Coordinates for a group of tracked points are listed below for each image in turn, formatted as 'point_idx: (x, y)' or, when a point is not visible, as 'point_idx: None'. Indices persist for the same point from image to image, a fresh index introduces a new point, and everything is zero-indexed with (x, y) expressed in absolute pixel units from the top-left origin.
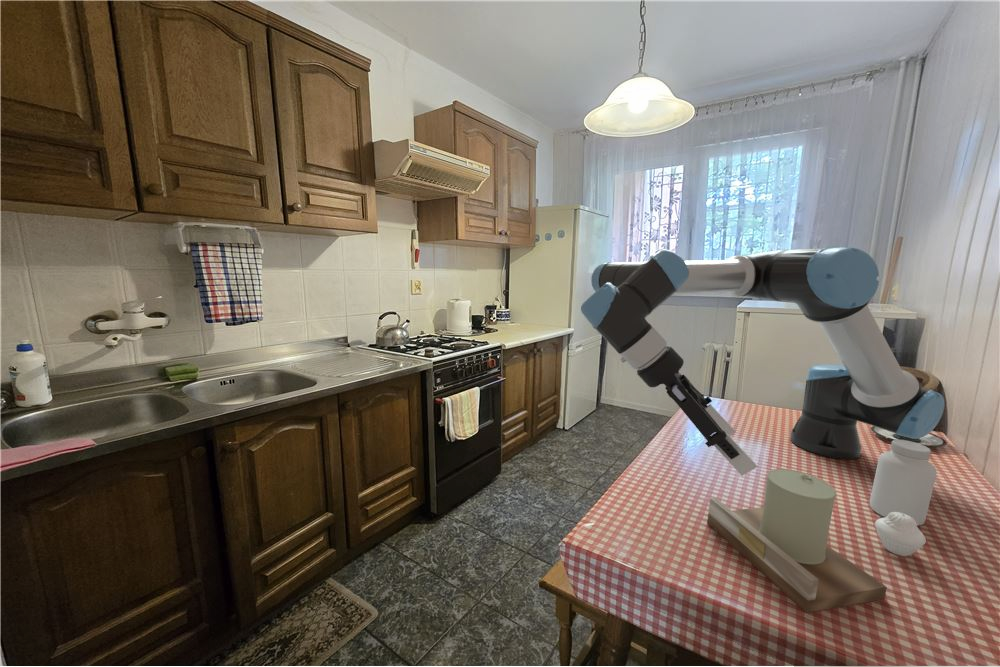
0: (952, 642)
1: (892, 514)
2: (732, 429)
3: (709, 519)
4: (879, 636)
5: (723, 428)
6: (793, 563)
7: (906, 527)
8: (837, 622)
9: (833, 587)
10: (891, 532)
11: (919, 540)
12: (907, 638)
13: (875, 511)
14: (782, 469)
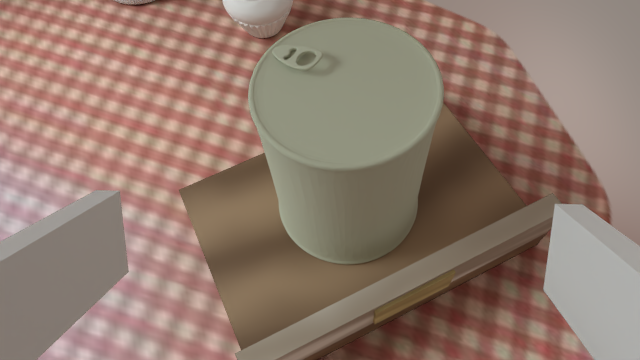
0: (490, 58)
1: None
2: (109, 203)
3: None
4: (533, 145)
5: (94, 251)
6: (514, 226)
7: None
8: (533, 197)
9: (474, 168)
10: (276, 5)
11: None
12: (514, 109)
13: (141, 3)
14: (254, 105)
